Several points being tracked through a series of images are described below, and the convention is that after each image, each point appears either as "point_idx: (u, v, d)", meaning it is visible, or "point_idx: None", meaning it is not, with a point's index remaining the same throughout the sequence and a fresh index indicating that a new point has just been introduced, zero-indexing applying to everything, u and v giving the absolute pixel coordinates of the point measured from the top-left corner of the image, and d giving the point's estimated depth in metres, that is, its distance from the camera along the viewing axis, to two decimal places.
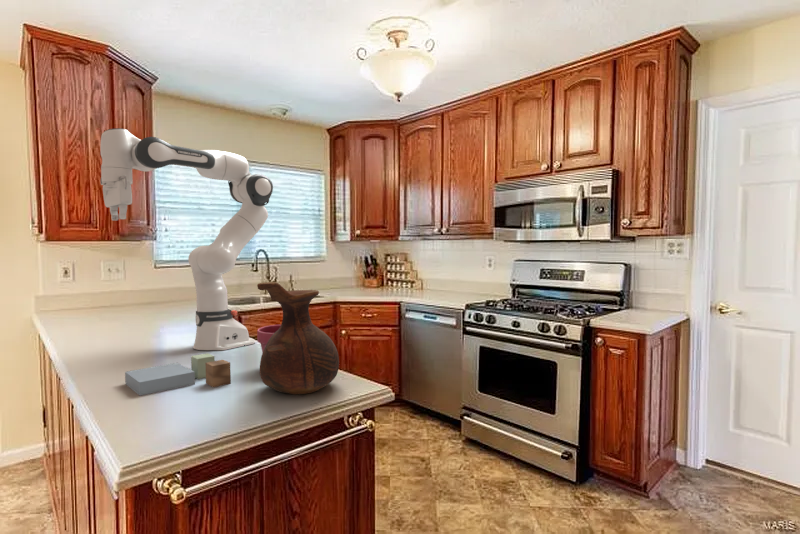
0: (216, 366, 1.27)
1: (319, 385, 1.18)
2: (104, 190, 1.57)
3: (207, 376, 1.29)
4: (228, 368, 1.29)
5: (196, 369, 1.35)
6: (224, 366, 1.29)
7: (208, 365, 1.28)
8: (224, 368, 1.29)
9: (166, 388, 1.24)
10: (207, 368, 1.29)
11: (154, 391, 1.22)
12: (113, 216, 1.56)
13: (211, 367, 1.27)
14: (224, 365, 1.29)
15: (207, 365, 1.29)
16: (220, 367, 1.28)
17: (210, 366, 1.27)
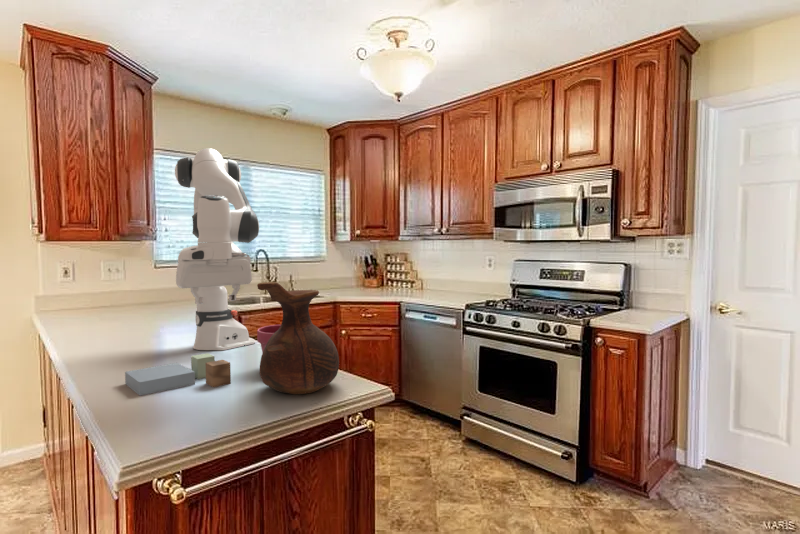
0: (216, 366, 1.27)
1: (319, 385, 1.18)
2: (189, 267, 1.22)
3: (207, 376, 1.29)
4: (228, 368, 1.29)
5: (196, 369, 1.35)
6: (224, 366, 1.29)
7: (208, 365, 1.28)
8: (224, 368, 1.29)
9: (166, 388, 1.24)
10: (207, 368, 1.29)
11: (154, 391, 1.22)
12: None
13: (211, 367, 1.27)
14: (224, 365, 1.29)
15: (207, 365, 1.29)
16: (220, 367, 1.28)
17: (210, 366, 1.27)
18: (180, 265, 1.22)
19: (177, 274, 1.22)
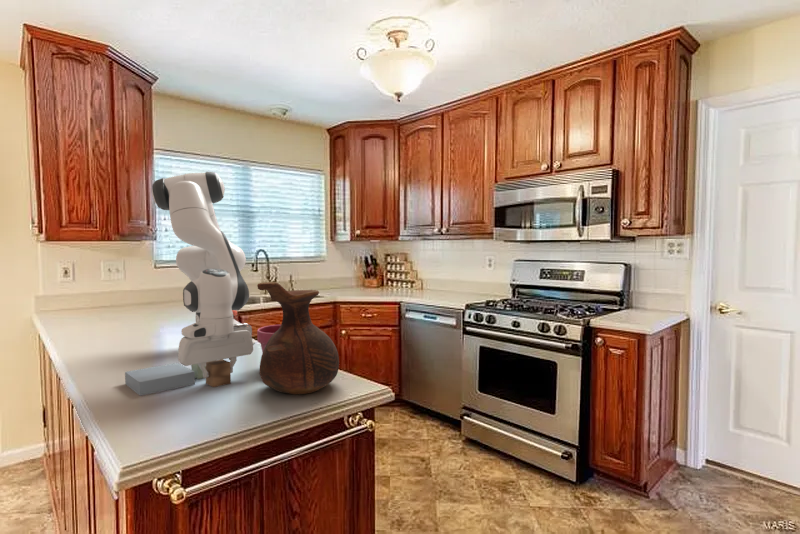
0: (216, 366, 1.27)
1: (319, 385, 1.18)
2: (191, 344, 1.23)
3: None
4: (228, 368, 1.29)
5: (196, 369, 1.35)
6: (224, 366, 1.29)
7: (208, 365, 1.28)
8: (224, 368, 1.29)
9: (166, 388, 1.24)
10: (207, 368, 1.29)
11: (154, 391, 1.22)
12: None
13: (211, 367, 1.27)
14: (224, 365, 1.29)
15: (207, 365, 1.29)
16: (220, 367, 1.28)
17: (210, 366, 1.27)
18: (182, 342, 1.23)
19: (179, 351, 1.23)
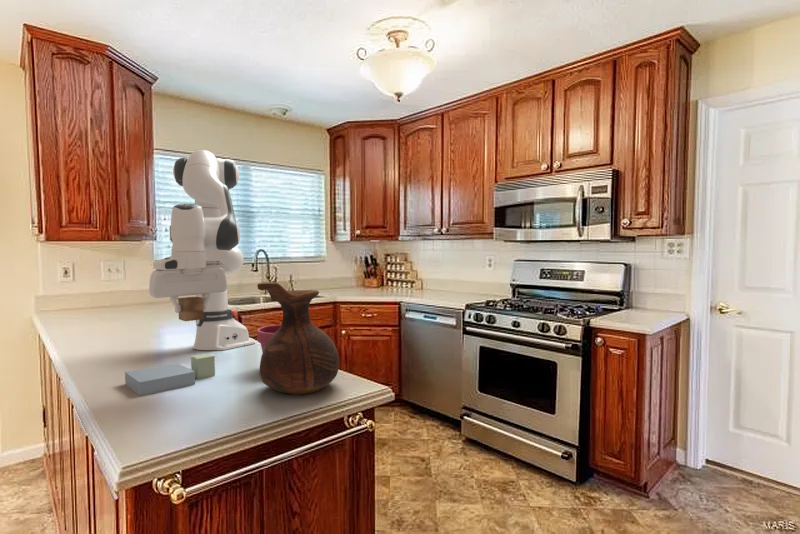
0: (188, 300, 1.26)
1: (319, 385, 1.18)
2: (162, 276, 1.22)
3: None
4: (201, 303, 1.29)
5: (196, 369, 1.35)
6: (196, 301, 1.28)
7: (180, 300, 1.27)
8: (197, 303, 1.28)
9: (166, 388, 1.24)
10: (180, 303, 1.28)
11: (154, 391, 1.22)
12: None
13: (183, 301, 1.26)
14: (197, 300, 1.28)
15: (179, 300, 1.28)
16: (193, 301, 1.27)
17: (182, 300, 1.26)
18: (153, 275, 1.22)
19: (150, 284, 1.22)
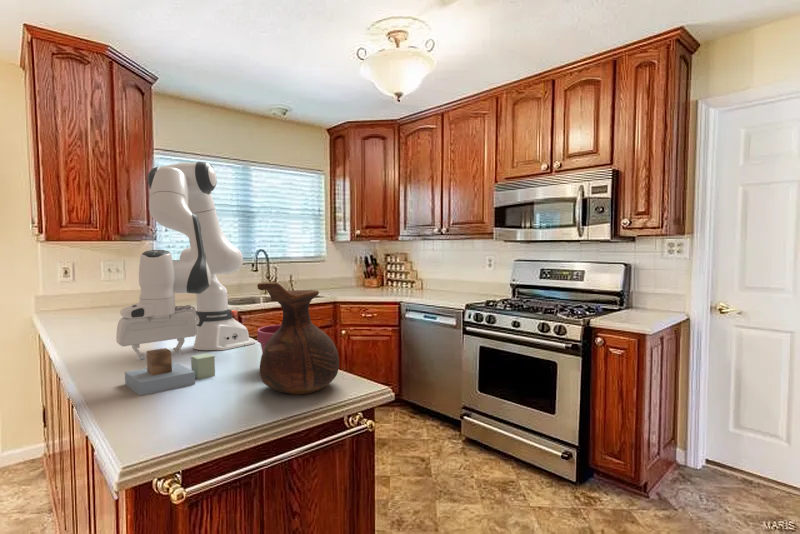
0: (156, 354, 1.26)
1: (319, 385, 1.18)
2: (129, 325, 1.22)
3: (148, 364, 1.29)
4: (169, 356, 1.29)
5: (196, 369, 1.35)
6: (164, 355, 1.28)
7: (148, 353, 1.28)
8: (164, 356, 1.28)
9: (166, 388, 1.24)
10: (148, 356, 1.28)
11: (154, 391, 1.22)
12: None
13: (151, 355, 1.26)
14: (164, 353, 1.28)
15: (148, 353, 1.28)
16: (160, 355, 1.27)
17: (150, 354, 1.27)
18: (120, 323, 1.22)
19: (117, 332, 1.23)
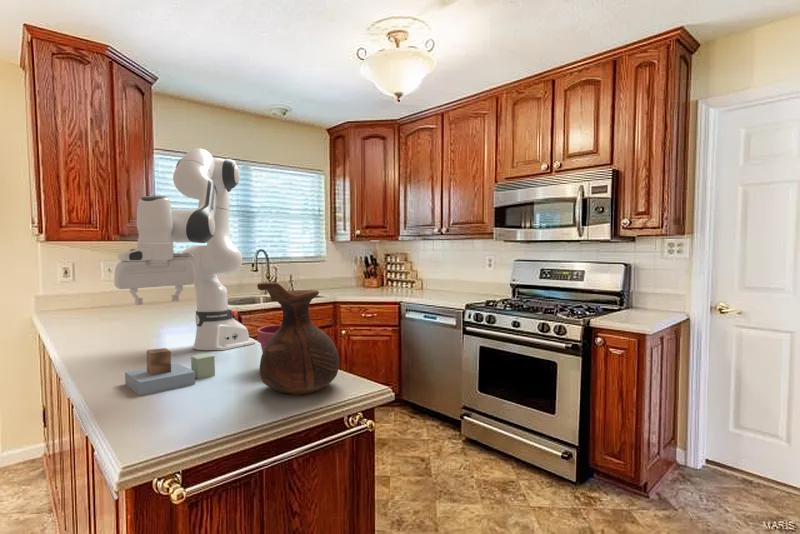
0: (155, 353, 1.27)
1: (319, 385, 1.18)
2: (127, 267, 1.21)
3: (147, 364, 1.29)
4: (168, 356, 1.29)
5: (196, 369, 1.35)
6: (164, 354, 1.28)
7: (148, 352, 1.28)
8: (164, 356, 1.28)
9: (166, 388, 1.24)
10: (147, 356, 1.29)
11: (154, 391, 1.22)
12: None
13: (150, 354, 1.26)
14: (164, 353, 1.28)
15: (147, 353, 1.29)
16: (159, 355, 1.27)
17: (149, 353, 1.27)
18: (118, 266, 1.22)
19: (115, 275, 1.22)
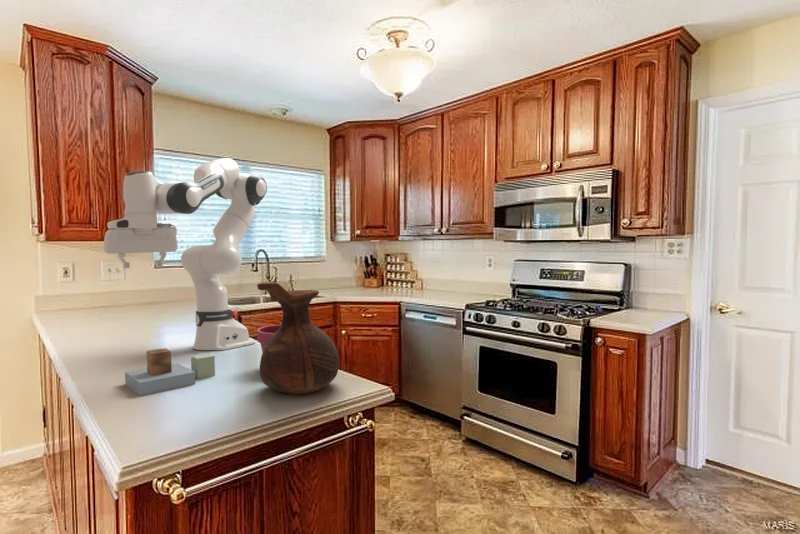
0: (155, 354, 1.26)
1: (319, 385, 1.18)
2: (115, 234, 1.36)
3: (148, 364, 1.29)
4: (169, 356, 1.29)
5: (196, 369, 1.35)
6: (164, 355, 1.28)
7: (148, 353, 1.28)
8: (164, 356, 1.28)
9: (166, 388, 1.24)
10: (148, 356, 1.28)
11: (154, 391, 1.22)
12: None
13: (150, 355, 1.26)
14: (164, 353, 1.28)
15: (148, 353, 1.28)
16: (160, 355, 1.27)
17: (150, 354, 1.27)
18: (107, 233, 1.37)
19: (104, 241, 1.37)
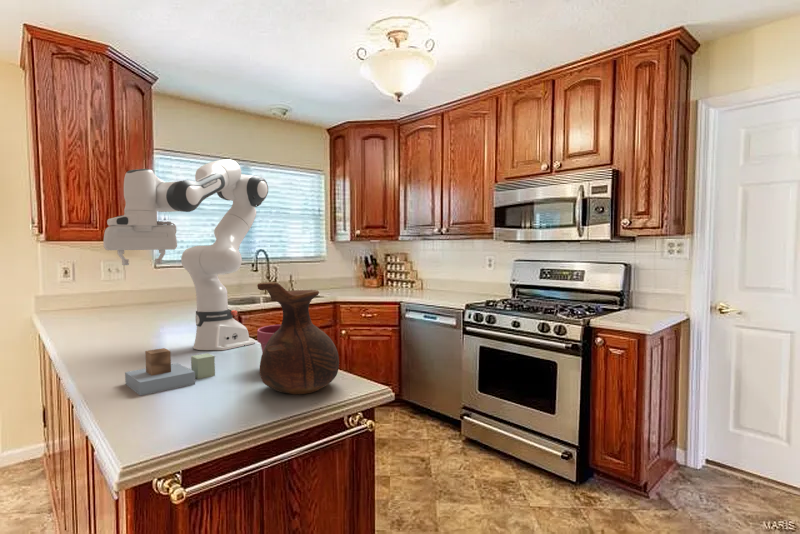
0: (155, 354, 1.26)
1: (319, 385, 1.18)
2: (114, 231, 1.37)
3: (147, 364, 1.28)
4: (168, 356, 1.29)
5: (196, 369, 1.35)
6: (163, 354, 1.28)
7: (147, 353, 1.28)
8: (164, 356, 1.28)
9: (166, 388, 1.24)
10: (147, 356, 1.28)
11: (154, 391, 1.22)
12: None
13: (150, 355, 1.26)
14: (164, 353, 1.28)
15: (147, 353, 1.28)
16: (159, 355, 1.27)
17: (149, 354, 1.27)
18: (106, 230, 1.37)
19: (104, 238, 1.38)
